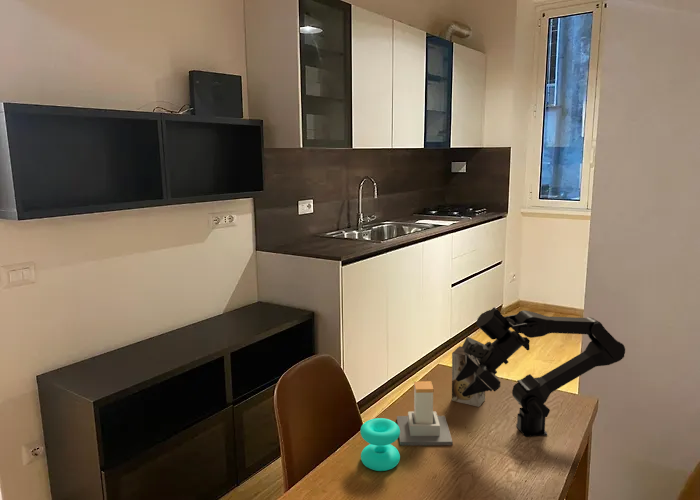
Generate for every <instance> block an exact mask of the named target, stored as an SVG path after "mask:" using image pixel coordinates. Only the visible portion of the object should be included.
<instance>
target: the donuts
mask: <svg viewBox="0 0 700 500" xmlns="http://www.w3.org/2000/svg"><path fill="white" fill-rule="evenodd" d="M359 432H360V436H361V438H362V439H363V440H364V441H365V442H366V443H368V445H366V446H365V447H364V448H363V449H362V451H361V453H360V459H361V463H362V464H363V465H364V466H365V467H366V468H367V469H370V470H372V471H377V472H384V471H390V470H392V469H394V468H395V467H396V466H398V464H399V463H400V460H401V455H400V452H399V450H398V449H397V447H396V446H394V445H393V443H394V442H396V441H398V439H399V435H400V428H399V426H398V424H397V422H395V421H394V420H391V419H389V418H383V417H377V418H371V419H368V420H366V421H365V422H364V423H363V424H362V425H361V427H360V431H359Z"/></svg>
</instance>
